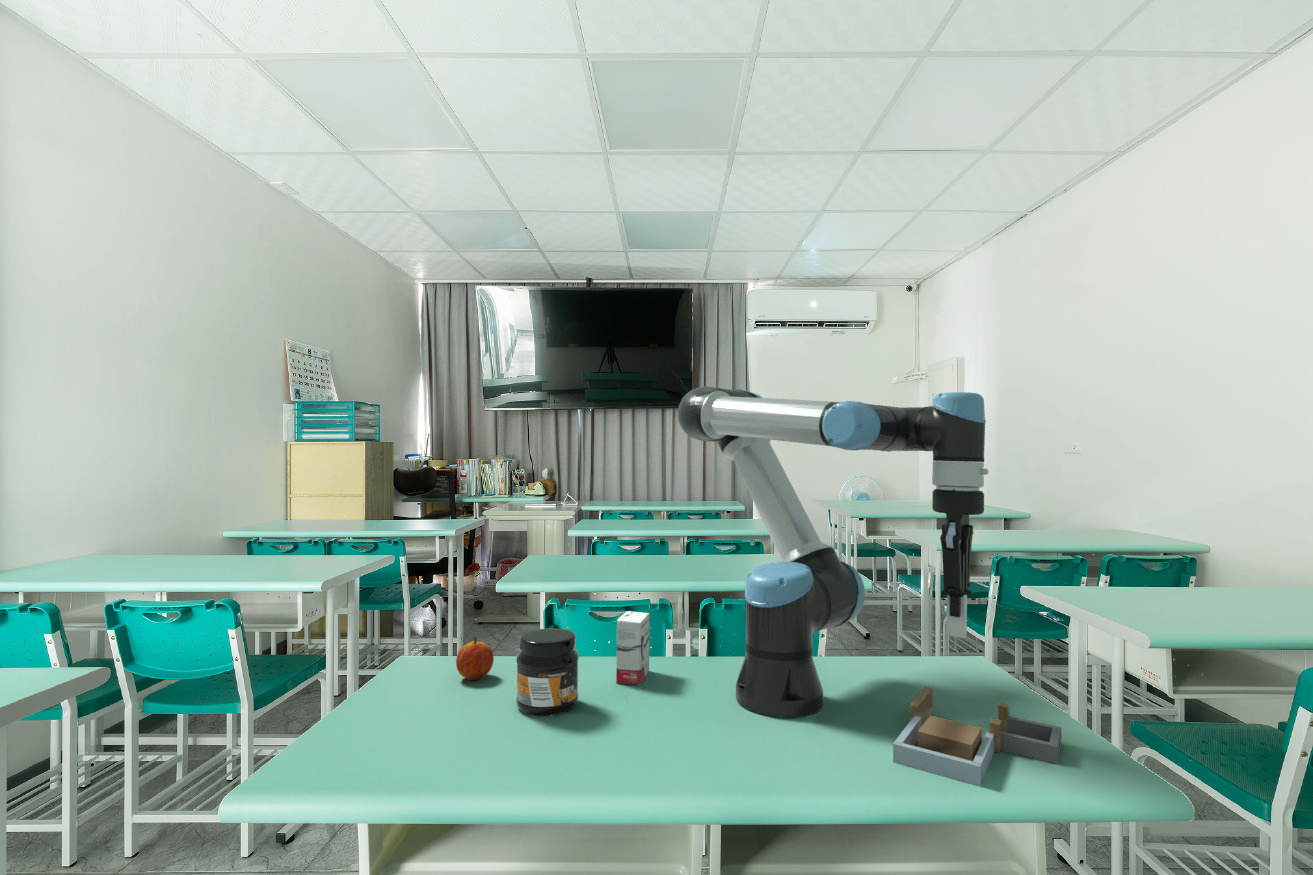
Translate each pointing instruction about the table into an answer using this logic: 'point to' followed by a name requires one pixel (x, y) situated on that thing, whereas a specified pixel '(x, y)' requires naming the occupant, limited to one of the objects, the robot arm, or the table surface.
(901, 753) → the dock
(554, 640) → the supplement container
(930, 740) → the block
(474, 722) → the table surface
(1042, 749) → the trap pit
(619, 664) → the ink box
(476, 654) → the fruit
